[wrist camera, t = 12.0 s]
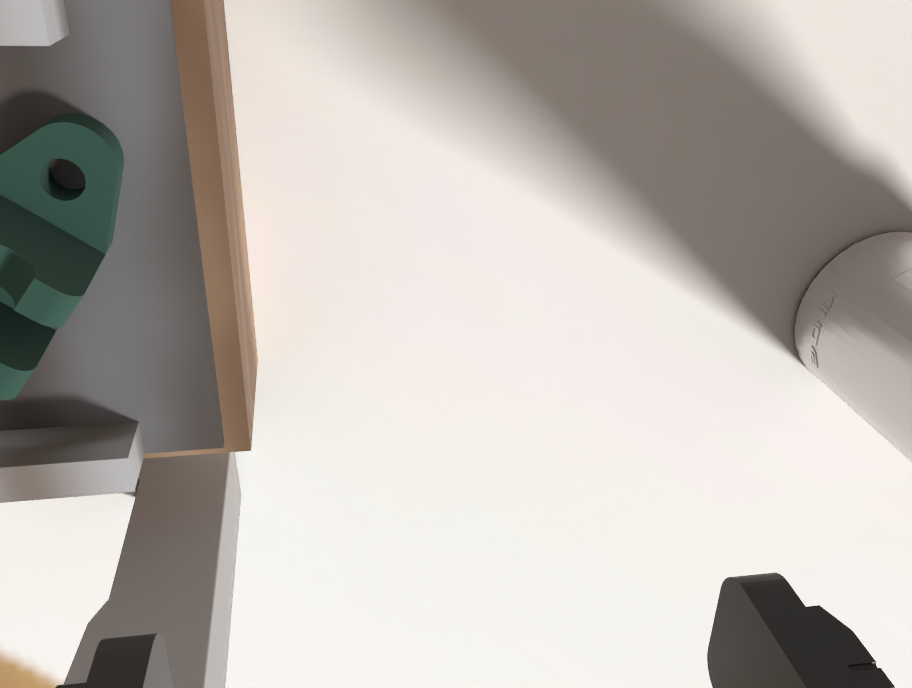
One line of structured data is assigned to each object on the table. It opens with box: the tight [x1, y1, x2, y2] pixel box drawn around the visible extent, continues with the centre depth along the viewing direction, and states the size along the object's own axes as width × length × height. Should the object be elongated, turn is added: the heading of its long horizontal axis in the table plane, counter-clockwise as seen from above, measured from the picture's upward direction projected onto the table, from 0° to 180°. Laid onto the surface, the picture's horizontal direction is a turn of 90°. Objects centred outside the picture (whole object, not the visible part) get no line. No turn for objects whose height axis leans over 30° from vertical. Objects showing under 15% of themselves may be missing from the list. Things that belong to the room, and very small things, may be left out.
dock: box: [0, 0, 257, 503], centre depth 30 cm, size 14×18×10 cm
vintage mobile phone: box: [64, 452, 241, 688], centre depth 31 cm, size 4×5×25 cm
